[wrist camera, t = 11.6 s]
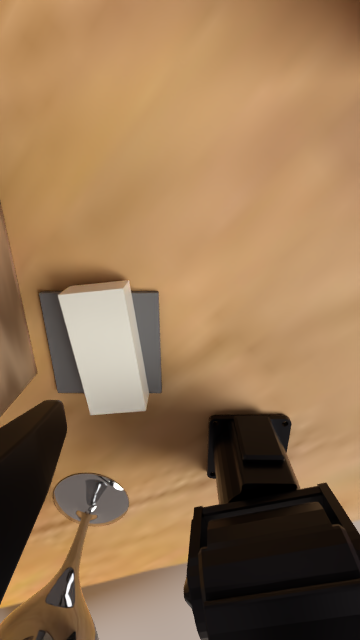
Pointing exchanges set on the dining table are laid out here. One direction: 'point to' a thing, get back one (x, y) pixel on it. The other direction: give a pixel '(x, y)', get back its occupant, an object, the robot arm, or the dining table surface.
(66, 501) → the wine glass
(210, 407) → the dining table surface
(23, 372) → the rectangular frame
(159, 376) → the mat
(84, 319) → the block
